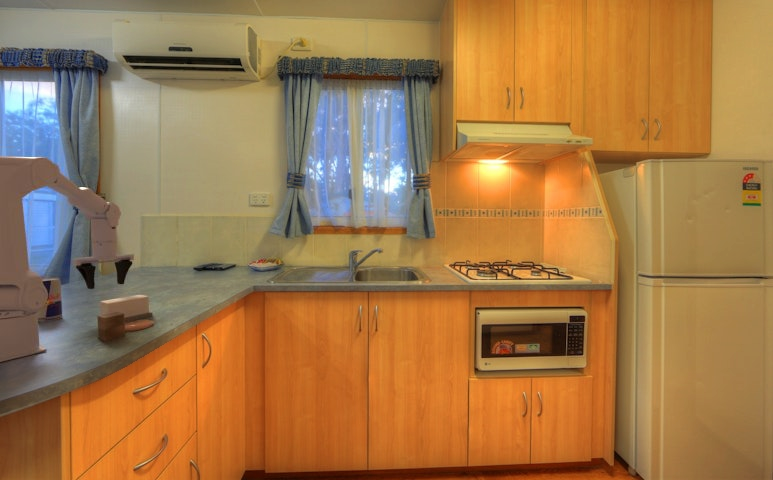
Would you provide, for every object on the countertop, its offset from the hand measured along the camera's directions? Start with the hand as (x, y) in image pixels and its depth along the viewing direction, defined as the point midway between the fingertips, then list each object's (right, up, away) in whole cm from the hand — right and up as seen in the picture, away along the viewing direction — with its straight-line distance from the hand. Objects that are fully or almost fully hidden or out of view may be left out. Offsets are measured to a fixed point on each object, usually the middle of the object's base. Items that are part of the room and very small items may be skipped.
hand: (106, 286), depth 97 cm
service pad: (+16, -10, -8) cm, 20 cm away
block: (+16, -11, -17) cm, 26 cm away
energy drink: (-15, -10, -3) cm, 18 cm away
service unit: (+7, -10, -1) cm, 12 cm away
